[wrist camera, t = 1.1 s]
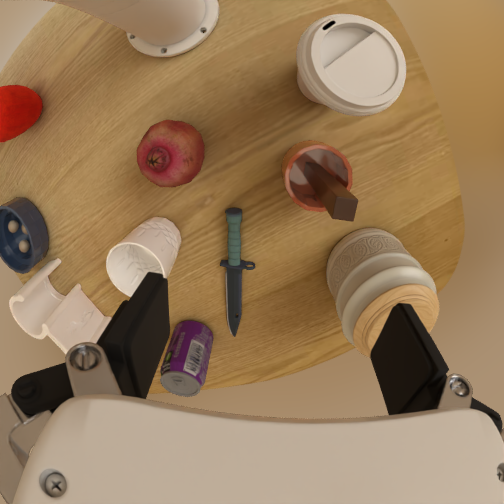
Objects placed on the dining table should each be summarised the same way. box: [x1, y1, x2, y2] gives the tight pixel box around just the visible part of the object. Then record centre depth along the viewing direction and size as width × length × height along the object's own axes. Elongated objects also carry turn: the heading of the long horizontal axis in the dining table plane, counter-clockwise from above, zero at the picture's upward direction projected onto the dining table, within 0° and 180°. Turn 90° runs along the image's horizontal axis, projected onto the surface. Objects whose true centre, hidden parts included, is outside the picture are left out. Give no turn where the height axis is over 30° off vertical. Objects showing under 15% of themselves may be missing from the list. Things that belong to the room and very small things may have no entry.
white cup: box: [106, 217, 182, 297], centre depth 36 cm, size 8×8×10 cm
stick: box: [304, 162, 358, 221], centre depth 28 cm, size 2×2×16 cm
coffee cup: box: [296, 14, 406, 116], centre depth 23 cm, size 10×10×15 cm
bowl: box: [0, 198, 49, 274], centre depth 38 cm, size 13×13×5 cm
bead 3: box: [19, 240, 30, 252], centre depth 40 cm, size 2×2×2 cm
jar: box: [326, 228, 439, 357], centre depth 33 cm, size 13×13×18 cm
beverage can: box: [160, 321, 213, 397], centre depth 43 cm, size 7×7×12 cm
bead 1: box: [8, 220, 19, 233], centre depth 38 cm, size 2×2×2 cm
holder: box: [281, 140, 352, 212], centre depth 32 cm, size 8×8×6 cm
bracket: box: [9, 258, 112, 354], centre depth 43 cm, size 25×10×12 cm, turn 31°
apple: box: [0, 85, 43, 142], centre depth 26 cm, size 9×9×11 cm
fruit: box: [137, 120, 204, 187], centre depth 30 cm, size 8×8×10 cm
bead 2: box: [22, 224, 27, 234], centre depth 38 cm, size 2×2×2 cm
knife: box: [220, 208, 255, 337], centre depth 43 cm, size 23×2×5 cm
